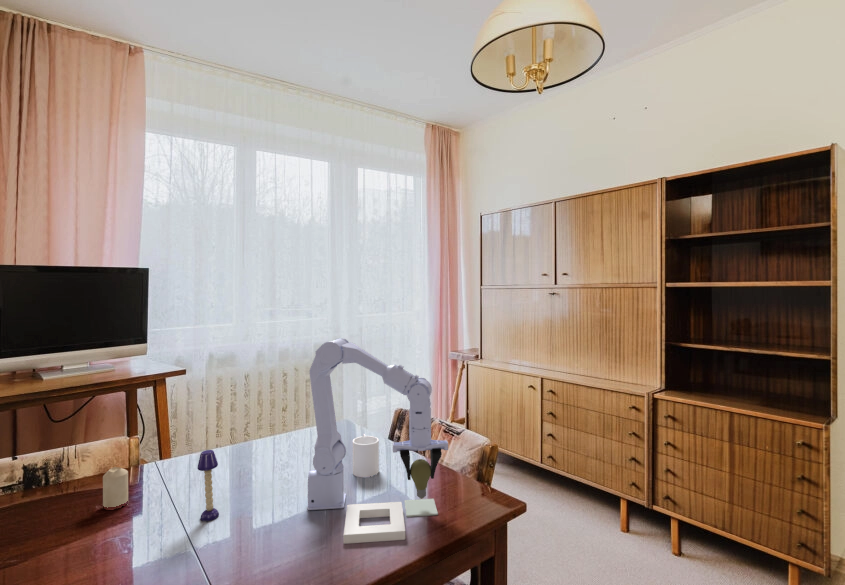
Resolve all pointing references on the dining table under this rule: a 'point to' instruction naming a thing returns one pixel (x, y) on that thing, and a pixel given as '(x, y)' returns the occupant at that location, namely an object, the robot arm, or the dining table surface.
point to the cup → (365, 456)
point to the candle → (115, 487)
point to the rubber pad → (420, 507)
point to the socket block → (374, 532)
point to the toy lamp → (208, 483)
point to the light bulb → (420, 476)
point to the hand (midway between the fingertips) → (420, 477)
